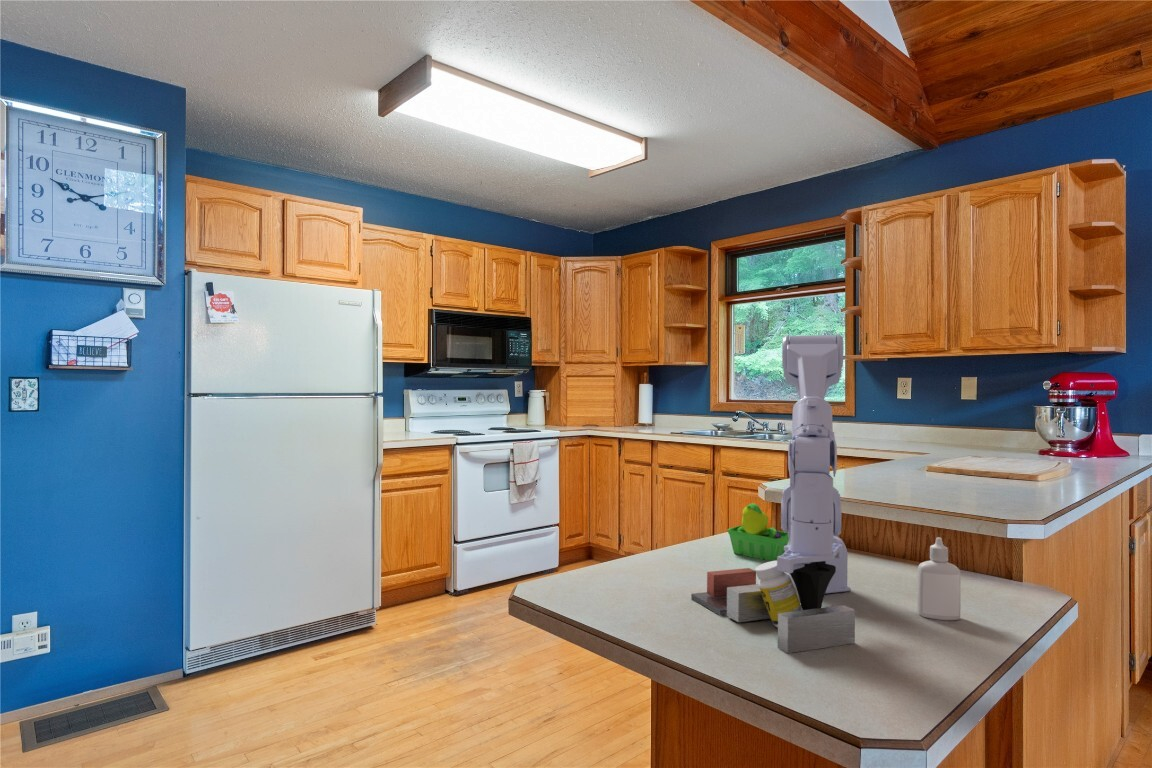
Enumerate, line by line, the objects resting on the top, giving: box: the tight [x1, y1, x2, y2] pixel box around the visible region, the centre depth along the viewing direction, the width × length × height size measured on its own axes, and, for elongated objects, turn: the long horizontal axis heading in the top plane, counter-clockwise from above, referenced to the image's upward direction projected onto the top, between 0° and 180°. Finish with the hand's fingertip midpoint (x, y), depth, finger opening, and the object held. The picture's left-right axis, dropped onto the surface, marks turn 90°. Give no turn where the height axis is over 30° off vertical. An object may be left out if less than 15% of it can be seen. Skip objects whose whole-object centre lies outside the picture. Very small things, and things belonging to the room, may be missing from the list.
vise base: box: [690, 591, 727, 617], centre depth 103 cm, size 12×8×1 cm
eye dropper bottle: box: [917, 536, 961, 621], centre depth 99 cm, size 4×6×12 cm
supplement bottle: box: [754, 560, 803, 628], centre depth 93 cm, size 5×5×8 cm
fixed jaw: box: [777, 604, 856, 654], centre depth 86 cm, size 11×2×4 cm, turn 110°
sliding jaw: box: [706, 567, 800, 623], centre depth 101 cm, size 11×11×4 cm
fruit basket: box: [727, 502, 789, 562], centre depth 135 cm, size 11×9×11 cm
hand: (810, 614), depth 93 cm, fingers closed
